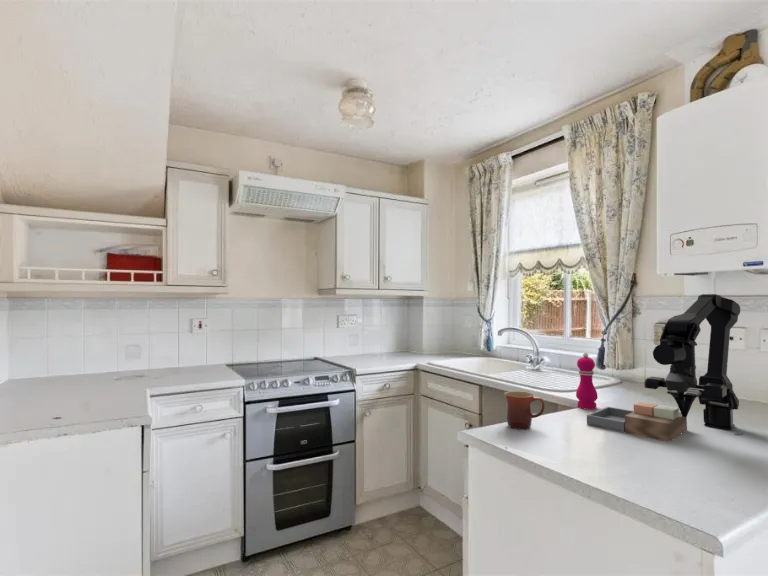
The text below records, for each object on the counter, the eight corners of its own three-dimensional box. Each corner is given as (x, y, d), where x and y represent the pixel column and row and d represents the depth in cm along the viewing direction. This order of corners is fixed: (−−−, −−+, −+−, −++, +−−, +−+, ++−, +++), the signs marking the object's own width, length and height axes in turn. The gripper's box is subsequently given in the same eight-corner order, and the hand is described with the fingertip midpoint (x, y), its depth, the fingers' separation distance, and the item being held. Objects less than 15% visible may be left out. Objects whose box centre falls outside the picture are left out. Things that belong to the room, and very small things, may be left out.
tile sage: (678, 416, 126) (678, 407, 126) (673, 419, 123) (673, 410, 123) (659, 413, 130) (659, 404, 130) (653, 416, 126) (653, 407, 126)
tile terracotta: (658, 413, 130) (657, 404, 130) (652, 416, 127) (652, 407, 127) (639, 409, 134) (639, 401, 134) (633, 412, 130) (633, 404, 130)
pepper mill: (600, 410, 153) (599, 354, 154) (578, 409, 155) (577, 354, 155) (594, 405, 160) (593, 351, 161) (574, 404, 162) (572, 351, 162)
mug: (503, 429, 131) (503, 396, 132) (505, 422, 140) (504, 390, 140) (545, 433, 127) (544, 398, 128) (544, 425, 136) (544, 392, 136)
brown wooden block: (687, 430, 129) (686, 413, 129) (669, 442, 118) (669, 423, 119) (644, 422, 138) (644, 406, 138) (625, 432, 127) (624, 415, 127)
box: (643, 422, 138) (643, 412, 138) (624, 432, 127) (623, 422, 127) (607, 415, 146) (607, 406, 146) (586, 424, 136) (586, 415, 136)
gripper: (637, 361, 125) (638, 415, 124) (716, 368, 111) (718, 429, 110) (650, 358, 132) (651, 408, 132) (726, 364, 118) (728, 421, 118)
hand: (684, 416), depth 123 cm, fingers closed
